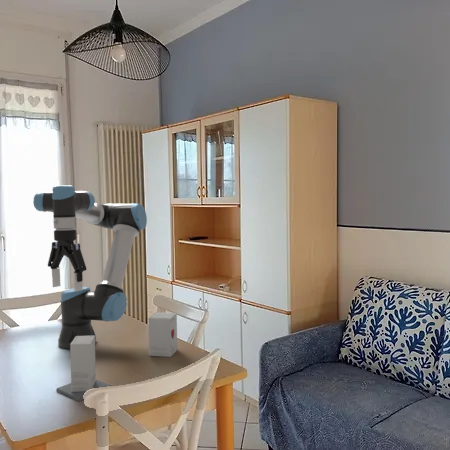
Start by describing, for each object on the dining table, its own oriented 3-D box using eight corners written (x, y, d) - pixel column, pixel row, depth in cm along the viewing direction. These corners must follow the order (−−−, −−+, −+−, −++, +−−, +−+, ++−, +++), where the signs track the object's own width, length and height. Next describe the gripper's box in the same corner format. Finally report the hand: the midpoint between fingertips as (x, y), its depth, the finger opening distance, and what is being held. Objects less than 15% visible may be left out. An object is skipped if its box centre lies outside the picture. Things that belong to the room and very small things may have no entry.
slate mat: (56, 391, 153) (56, 388, 153) (88, 379, 162) (88, 376, 162) (78, 401, 145) (78, 398, 145) (111, 388, 154) (110, 385, 154)
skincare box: (77, 382, 157) (75, 335, 156) (97, 381, 158) (95, 334, 157) (70, 393, 149) (68, 343, 148) (92, 392, 149) (90, 342, 148)
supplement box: (171, 357, 182) (170, 318, 181) (148, 356, 184) (147, 317, 183) (178, 349, 191) (177, 312, 190) (156, 348, 193) (155, 311, 192)
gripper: (36, 228, 175) (38, 286, 177) (76, 231, 159) (78, 294, 161) (54, 227, 181) (57, 283, 182) (95, 229, 165) (97, 290, 167)
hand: (67, 288), depth 172 cm, fingers open, 13 cm apart
